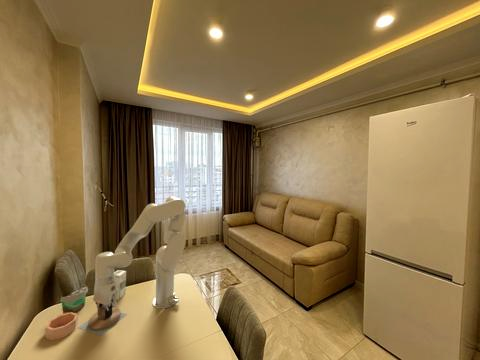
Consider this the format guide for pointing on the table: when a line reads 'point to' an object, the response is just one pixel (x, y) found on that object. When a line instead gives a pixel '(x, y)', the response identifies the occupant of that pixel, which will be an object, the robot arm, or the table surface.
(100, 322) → the lid
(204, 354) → the table surface
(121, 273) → the syrup box
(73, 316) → the bowl
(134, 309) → the table surface
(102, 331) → the mat
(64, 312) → the food container
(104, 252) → the robot arm
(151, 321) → the table surface
